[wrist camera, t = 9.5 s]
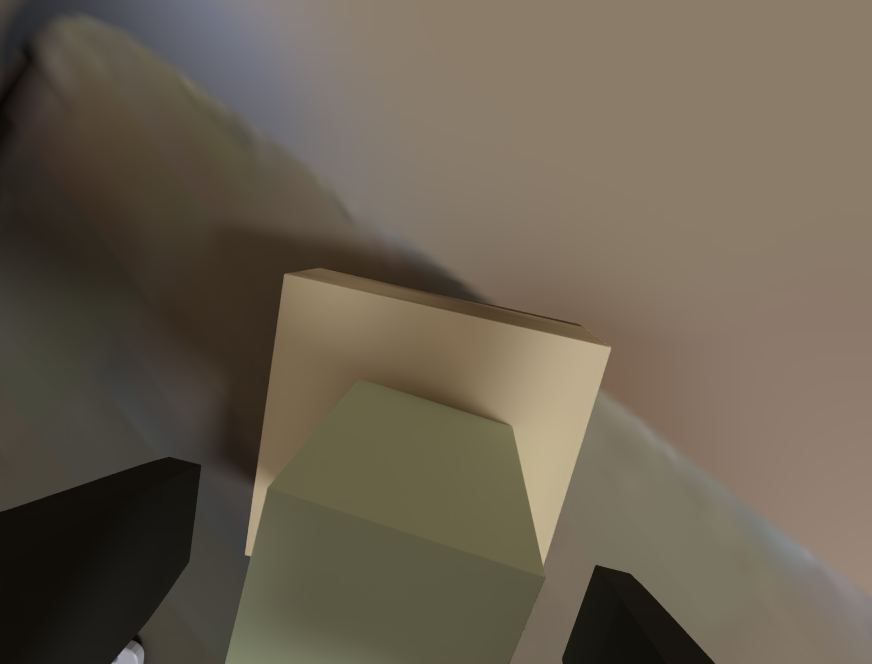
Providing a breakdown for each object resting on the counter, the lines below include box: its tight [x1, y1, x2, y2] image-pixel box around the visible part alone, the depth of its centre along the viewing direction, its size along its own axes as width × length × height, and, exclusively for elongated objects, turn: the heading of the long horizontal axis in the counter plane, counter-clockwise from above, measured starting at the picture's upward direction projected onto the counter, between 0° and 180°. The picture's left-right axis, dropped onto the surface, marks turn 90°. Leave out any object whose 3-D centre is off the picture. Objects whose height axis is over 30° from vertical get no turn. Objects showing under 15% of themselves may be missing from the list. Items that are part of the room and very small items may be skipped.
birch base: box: [245, 268, 611, 565], centre depth 13 cm, size 8×8×3 cm
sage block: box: [225, 378, 546, 664], centre depth 9 cm, size 4×4×5 cm
